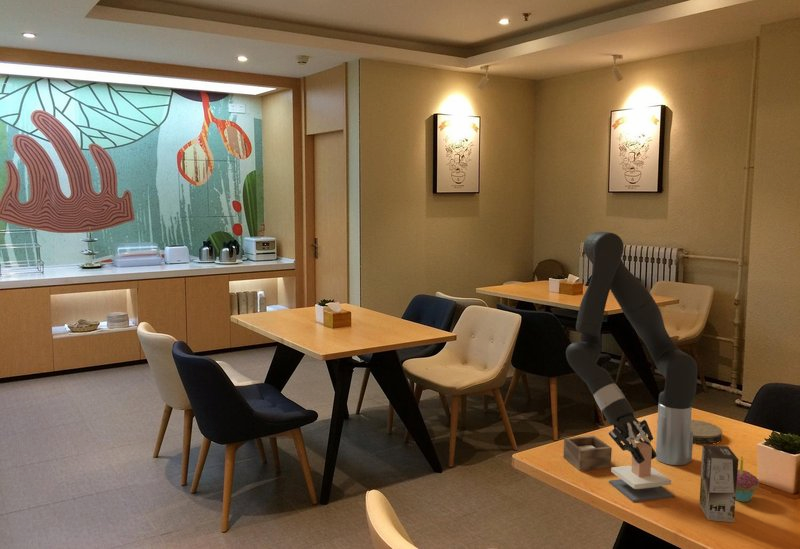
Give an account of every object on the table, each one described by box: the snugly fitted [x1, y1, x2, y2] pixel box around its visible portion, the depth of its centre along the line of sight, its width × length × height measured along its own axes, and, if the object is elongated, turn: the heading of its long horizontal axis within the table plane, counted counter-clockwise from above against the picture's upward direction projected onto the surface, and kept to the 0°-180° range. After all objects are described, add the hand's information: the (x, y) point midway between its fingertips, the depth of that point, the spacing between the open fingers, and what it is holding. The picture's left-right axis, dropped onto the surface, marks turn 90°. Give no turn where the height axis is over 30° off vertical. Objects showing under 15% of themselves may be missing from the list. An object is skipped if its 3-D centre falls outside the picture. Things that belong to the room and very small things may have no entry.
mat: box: [608, 478, 675, 503], centre depth 183 cm, size 12×12×1 cm
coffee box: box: [699, 444, 740, 523], centre depth 169 cm, size 9×6×16 cm
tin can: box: [691, 419, 723, 445], centre depth 223 cm, size 16×16×3 cm
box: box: [563, 435, 613, 472], centre depth 200 cm, size 10×10×6 cm
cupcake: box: [735, 457, 760, 502], centre depth 177 cm, size 9×8×12 cm
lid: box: [610, 442, 672, 489], centre depth 182 cm, size 11×11×10 cm
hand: (647, 459), depth 180 cm, fingers closed on lid, 4 cm apart
